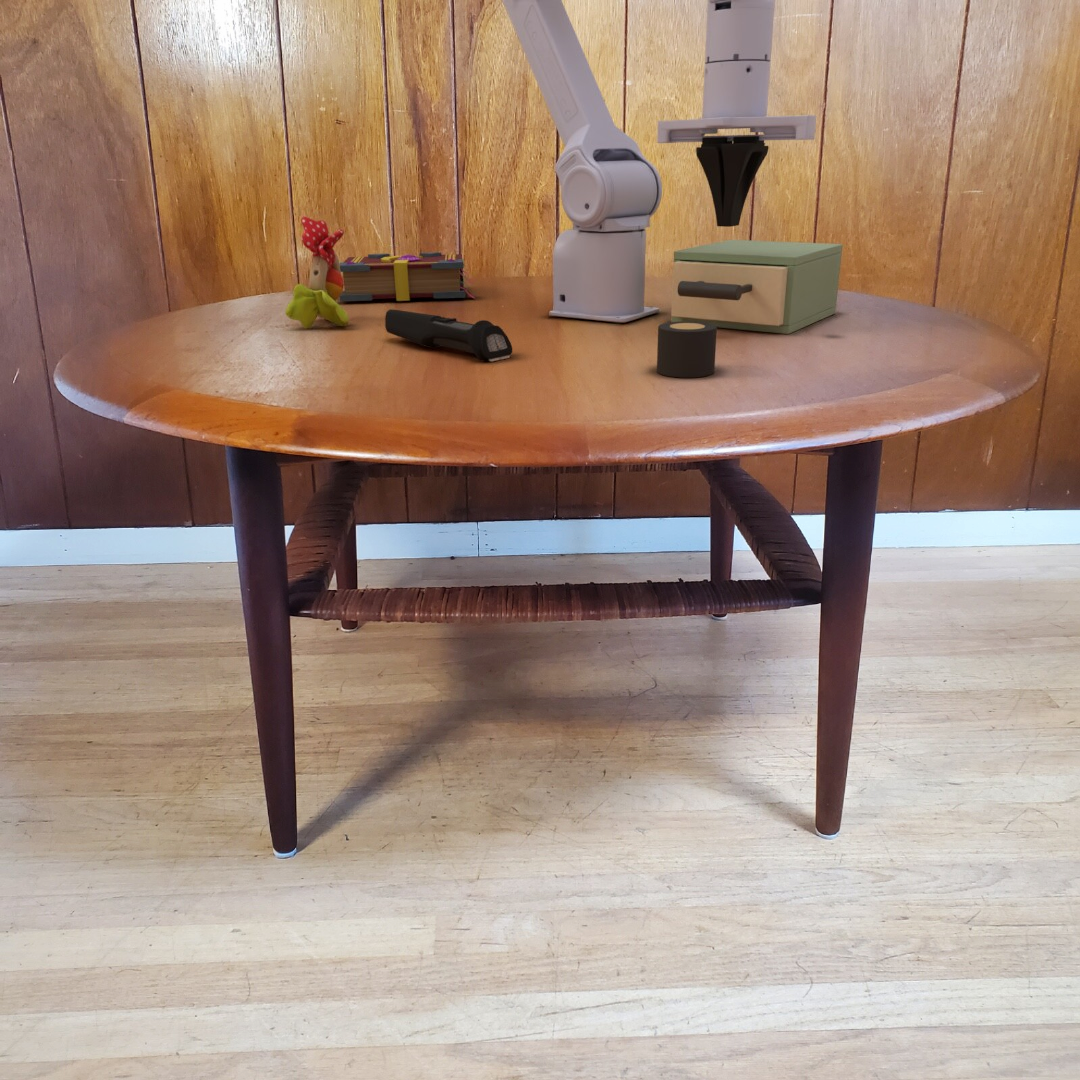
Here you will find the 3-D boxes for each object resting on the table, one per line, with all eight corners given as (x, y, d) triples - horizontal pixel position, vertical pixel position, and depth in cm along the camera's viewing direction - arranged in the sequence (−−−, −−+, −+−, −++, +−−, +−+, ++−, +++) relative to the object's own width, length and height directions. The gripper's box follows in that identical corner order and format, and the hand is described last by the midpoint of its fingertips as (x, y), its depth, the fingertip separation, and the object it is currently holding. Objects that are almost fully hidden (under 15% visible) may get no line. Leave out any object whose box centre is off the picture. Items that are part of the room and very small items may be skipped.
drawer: (761, 333, 84) (765, 273, 82) (651, 322, 90) (652, 266, 88) (823, 307, 96) (829, 254, 94) (723, 299, 102) (726, 250, 100)
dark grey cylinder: (646, 373, 74) (647, 328, 72) (673, 363, 77) (674, 319, 76) (698, 380, 71) (701, 333, 70) (723, 369, 75) (726, 323, 73)
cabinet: (788, 334, 88) (795, 257, 85) (670, 323, 95) (673, 251, 92) (835, 313, 98) (843, 244, 95) (726, 304, 105) (730, 239, 102)
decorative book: (350, 291, 121) (347, 251, 119) (473, 287, 122) (471, 248, 120) (340, 304, 110) (335, 261, 108) (474, 300, 111) (472, 257, 109)
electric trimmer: (408, 337, 91) (405, 304, 90) (516, 356, 81) (514, 319, 79) (377, 343, 88) (374, 309, 87) (484, 363, 78) (482, 326, 77)
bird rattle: (301, 340, 101) (279, 319, 92) (300, 239, 101) (278, 208, 92) (358, 339, 101) (342, 318, 92) (357, 238, 101) (340, 208, 92)
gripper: (642, 66, 82) (639, 226, 87) (800, 54, 74) (786, 231, 79) (679, 70, 87) (673, 221, 92) (830, 59, 79) (814, 225, 85)
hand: (728, 225), depth 86 cm, fingers closed
